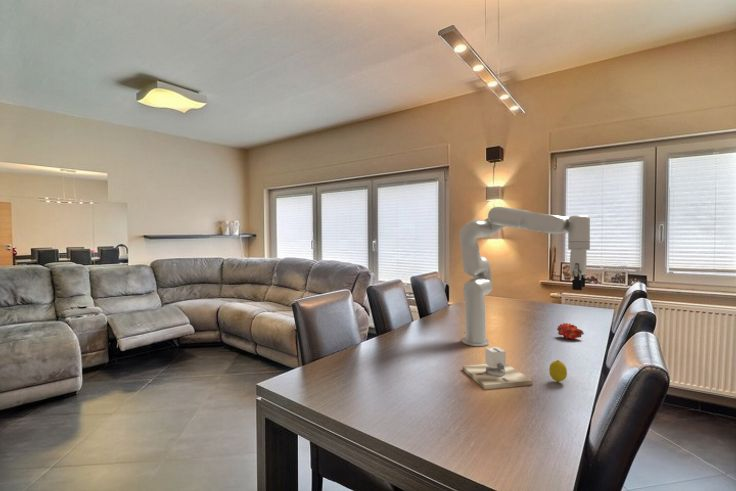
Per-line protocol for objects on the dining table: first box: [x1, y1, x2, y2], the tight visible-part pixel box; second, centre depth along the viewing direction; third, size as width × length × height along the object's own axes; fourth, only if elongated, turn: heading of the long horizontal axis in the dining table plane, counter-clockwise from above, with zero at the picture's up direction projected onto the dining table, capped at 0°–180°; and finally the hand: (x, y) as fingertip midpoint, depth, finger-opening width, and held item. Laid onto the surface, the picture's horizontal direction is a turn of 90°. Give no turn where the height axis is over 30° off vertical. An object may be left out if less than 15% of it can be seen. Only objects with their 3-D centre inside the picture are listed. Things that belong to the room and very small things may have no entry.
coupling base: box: [461, 363, 534, 390], centre depth 130 cm, size 18×18×4 cm
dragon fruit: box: [556, 322, 585, 341], centre depth 176 cm, size 8×8×12 cm
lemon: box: [548, 359, 568, 384], centre depth 125 cm, size 6×6×8 cm
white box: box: [484, 346, 507, 370], centre depth 129 cm, size 7×5×6 cm
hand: (578, 288), depth 141 cm, fingers open, 9 cm apart
